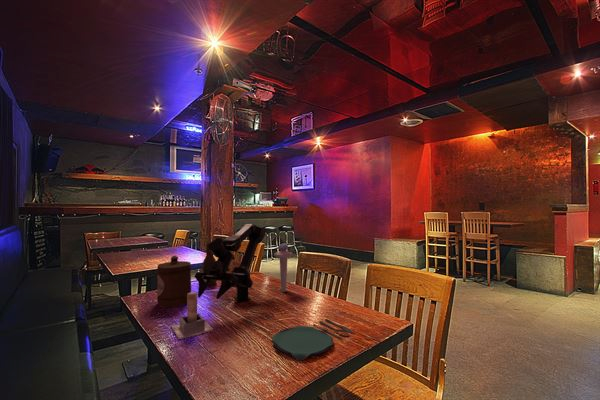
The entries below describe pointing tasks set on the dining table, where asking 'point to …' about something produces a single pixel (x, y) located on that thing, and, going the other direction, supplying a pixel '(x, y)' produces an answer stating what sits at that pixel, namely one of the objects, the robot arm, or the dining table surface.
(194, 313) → the wooden post
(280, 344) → the cutlery set
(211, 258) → the beer bottle
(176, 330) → the cup bracket
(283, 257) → the novelty light stick
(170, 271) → the wooden container
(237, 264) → the ammunition clip
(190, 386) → the dining table surface
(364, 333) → the dining table surface
